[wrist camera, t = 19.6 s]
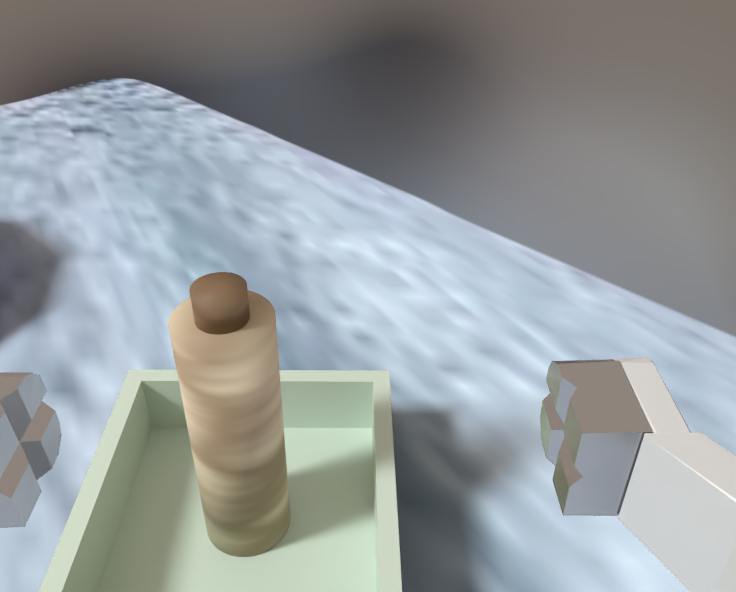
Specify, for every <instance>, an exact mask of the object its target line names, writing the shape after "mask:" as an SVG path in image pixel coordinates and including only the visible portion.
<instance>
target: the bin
mask: <svg viewBox="0 0 736 592" xmlns="http://www.w3.org/2000/svg"><path fill="white" fill-rule="evenodd" d="M279 371H280V384H281V397H282V411H283V424H284V437H285V451H286V464H287V477H288V491H289V504H290V525H289V528H288V530H287V533H286V534H285V536H284V537H283V539H282V540H281V541H280V542H279V543H278V544H277V545H276V546H274V547H273V548H272V549H270V550H268V551H266V552H264V553H262V554H259V555H255V556H250V557H236V556H231V555H228V554H226V553H223V552H222V551H220V550H218V549H217V548H216V547H215V546H214V545H213V544H212V542H211V541H210V539H209V537H208V534H207V529H206V523H205V518H204V513H203V507H202V502H201V497H200V492H199V486H198V481H197V476H196V470H195V465H194V460H193V454H192V449H191V444H190V438H189V433H188V428H187V422H186V417H185V412H184V406H183V401H182V396H181V390H180V385H179V380H178V374H177V370H129V371H128V374H127V376H126V379H125V381H124V384H123V386H122V388H121V391H120V393H119V396H118V398H117V401H116V403H115V406H114V408H113V410H112V413H111V415H110V418H109V420H108V423H107V425H106V428H105V430H104V433H103V435H102V437H101V440H100V442H99V445H98V447H97V450H96V452H95V455H94V457H93V460H92V462H91V464H90V467H89V469H88V472H87V474H86V477H85V479H84V482H83V484H82V487H81V489H80V491H79V494H78V496H77V499H76V501H75V504H74V506H73V509H72V511H71V514H70V516H69V518H68V521H67V523H66V526H65V528H64V531H63V533H62V536H61V538H60V541H59V543H58V545H57V548H56V550H55V553H54V555H53V558H52V560H51V563H50V565H49V568H48V570H47V572H46V575H45V577H44V580H43V582H42V585H41V587H40V590H39V592H402V580H401V563H400V546H399V529H398V513H397V496H396V479H395V462H394V445H393V428H392V411H391V394H390V377H389V371H321V370H279Z"/></svg>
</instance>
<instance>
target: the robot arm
mask: <svg viewBox="0 0 736 592" xmlns="http://www.w3.org/2000/svg"><path fill="white" fill-rule="evenodd" d="M546 380H547V384H548V387H549V390H550V394H549V395H548V396H547V397H546V398H545V399H544V400H543V401H542V408H541V415H540V421H541V437H542V443H543V448H544V451H545V455H546V458H547V459H548V460H549V461H551V462H552V463H553V464H554V465H555V471H554V476H553V483H554V487H555V490H556V493H557V497H558V500H559V503H560V507H561V510H562V513H563V515H590V516H618V519H619V520H620V521H621V522H622V523H623V524H624V525H625V526H626V527H627V528H628V529H629V530H630V531H631V532H632V533H633V534H634V535H635V536H636V537H637V538H638V539H639V540H640V541H641V542H642V543H643V544H644V545H645V546H646V547H647V549H648V550H649V551H650V552H651V553H652V554H653V555H654V556H655V557H656V558H657V559H658V560H659V561H660V562H661V563H662V564H663V565H664V566H665V567H666V568H667V569H668V570H669V571H670V572H671V573H672V574H673V575H674V576H675V577H676V578H677V579H678V580H679V581H680V582H681V583H682V584H683V585H684V586H685V587H686V588H687V589H688V590H689V591H690V592H736V456H735V455H734V454H732V453H731V452H729V451H728V450H726V449H725V448H723V447H722V446H720V445H719V444H717V443H716V442H714V441H713V440H711V439H710V438H708V437H707V436H705V435H704V434H702V433H691V432H690V430H689V428H688V426H687V424H686V422H685V420H684V419H683V417H682V415H681V413H680V411H679V409H678V408H677V406H676V404H675V402H674V400H673V398H672V396H671V395H670V393H669V391H668V389H667V387H666V385H665V384H664V382H663V380H662V378H661V376H660V374H659V372H658V371H657V369H656V367H655V365H654V363H653V361H651V360H650V359H648V358H623V359H615V360H612V359H609V360H575V361H552V362H551V364H550V366H549V369H548V374H547V379H546ZM46 392H47V390H46V387H45V385H44V383H43V381H42V379H41V377H40V375H37V374H35V373H0V528H8V527H25V525H26V523H27V521H28V519H29V517H30V515H31V513H32V511H33V508H34V506H35V504H36V502H37V500H38V498H39V496H40V493H41V489H40V486H39V484H38V481H37V480H38V479H39V478H40V477H42V476H43V475H44V474H45V473H47V472H48V471H49V470H51V469H52V468H53V465H54V463H55V461H56V458H57V456H58V454H59V447H60V441H61V430H60V423H59V420H58V417H57V414H56V412H55V410H53V409H52V408H51V407H49V406H48V405H46V404H45V403H44V402H42V399H43V397H44V396H45V394H46Z"/></svg>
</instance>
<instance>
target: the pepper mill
mask: <svg viewBox="0 0 736 592" xmlns="http://www.w3.org/2000/svg"><path fill="white" fill-rule="evenodd" d="M168 327H169V332H170V337H171V343H172V348H173V353H174V359H175V364H176V369H177V374H178V380H179V385H180V390H181V396H182V401H183V406H184V412H185V417H186V422H187V428H188V433H189V438H190V444H191V449H192V454H193V460H194V465H195V470H196V476H197V481H198V486H199V492H200V497H201V502H202V507H203V513H204V518H205V523H206V529H207V534H208V537H209V539H210V541H211V542H212V544H213V545H214V546H215V547H216V548H217V549H218V550H220V551H222V552H223V553H226V554H228V555H231V556H236V557H250V556H255V555H259V554H262V553H264V552H266V551H268V550H270V549H272V548H273V547H274V546H276V545H277V544H278V543H279V542H280V541H281V540H282V539H283V537H284V536H285V534H286V533H287V530H288V528H289V525H290V504H289V491H288V477H287V464H286V451H285V437H284V424H283V411H282V397H281V384H280V371H279V358H278V344H277V331H276V318H275V310H274V308H273V306H272V304H271V303H270V302H269V301H268V300H267V299H266V298H265V297H263V296H261V295H260V294H257V293H255V292H252V291H248V290H247V283H246V281H245V279H244V278H242V277H241V276H239V275H237V274H233V273H227V272H218V273H211V274H208V275H205V276H202V277H200V278H198V279H197V280H195V281H194V282H193V283H192V285H191V286H190V298H188V299H187V300H185V301H184V302H182V303H181V304H180V305H178V306H177V307H176V308H175V309H174V311H173V312H172V314H171V316H170V318H169V322H168Z"/></svg>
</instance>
